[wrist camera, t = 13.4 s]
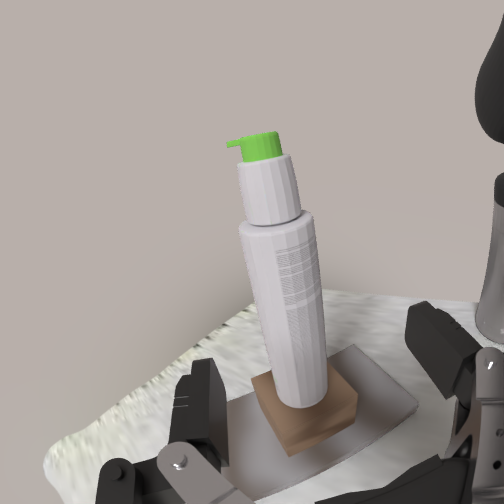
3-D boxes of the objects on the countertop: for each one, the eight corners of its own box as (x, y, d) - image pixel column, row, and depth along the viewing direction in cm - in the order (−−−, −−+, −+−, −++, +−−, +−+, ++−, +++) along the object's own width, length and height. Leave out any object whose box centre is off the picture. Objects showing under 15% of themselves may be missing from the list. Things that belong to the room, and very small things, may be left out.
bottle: (299, 364, 25) (259, 134, 17) (337, 383, 22) (314, 125, 14) (267, 393, 22) (203, 146, 15) (305, 417, 19) (256, 134, 12)
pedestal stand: (353, 352, 32) (353, 312, 30) (416, 410, 22) (430, 371, 19) (201, 419, 28) (181, 384, 25) (234, 507, 17) (211, 488, 14)
